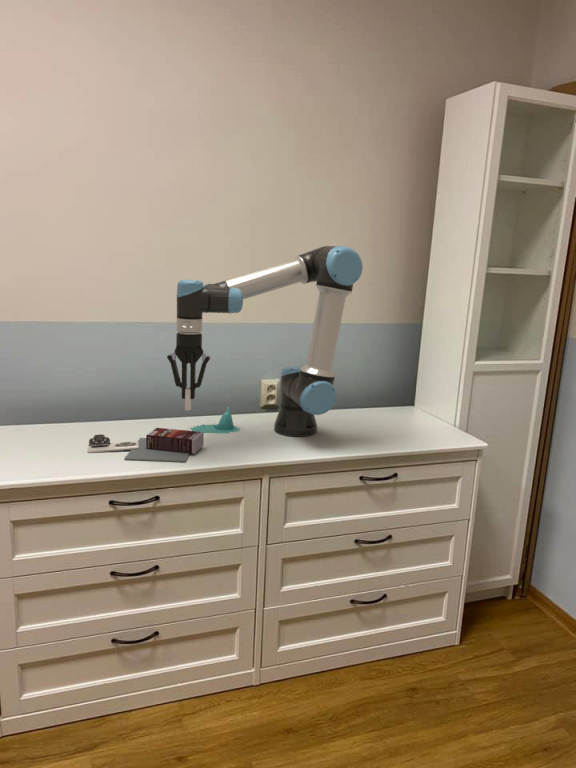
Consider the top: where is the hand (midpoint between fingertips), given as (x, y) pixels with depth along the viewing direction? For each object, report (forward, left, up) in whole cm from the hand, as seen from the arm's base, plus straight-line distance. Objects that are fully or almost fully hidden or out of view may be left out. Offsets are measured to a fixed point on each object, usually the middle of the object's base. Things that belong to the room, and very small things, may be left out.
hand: (188, 409), depth 185 cm
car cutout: (+23, 0, -14) cm, 27 cm away
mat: (+8, 0, -14) cm, 16 cm away
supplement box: (-4, 0, -11) cm, 11 cm away
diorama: (-5, -25, -14) cm, 29 cm away
